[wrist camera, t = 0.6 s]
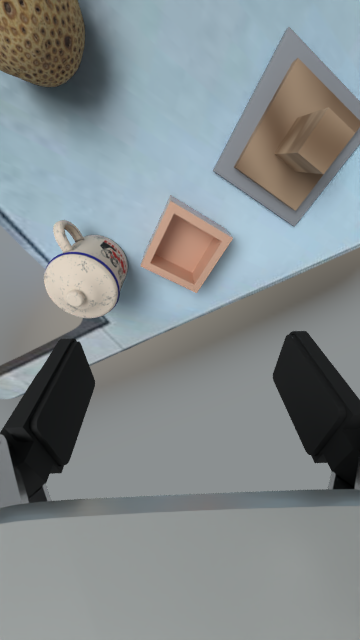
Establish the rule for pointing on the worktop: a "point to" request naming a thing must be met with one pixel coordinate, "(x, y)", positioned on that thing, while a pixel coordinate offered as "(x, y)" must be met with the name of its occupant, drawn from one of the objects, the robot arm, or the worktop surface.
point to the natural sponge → (41, 40)
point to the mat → (254, 111)
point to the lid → (297, 137)
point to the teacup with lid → (85, 273)
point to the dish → (185, 245)
